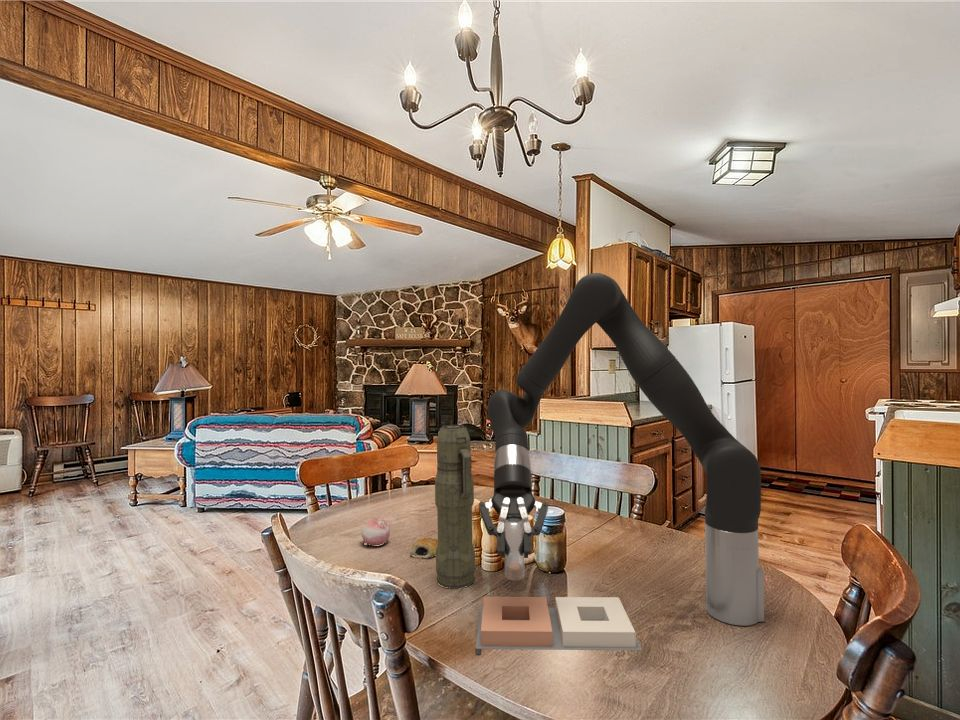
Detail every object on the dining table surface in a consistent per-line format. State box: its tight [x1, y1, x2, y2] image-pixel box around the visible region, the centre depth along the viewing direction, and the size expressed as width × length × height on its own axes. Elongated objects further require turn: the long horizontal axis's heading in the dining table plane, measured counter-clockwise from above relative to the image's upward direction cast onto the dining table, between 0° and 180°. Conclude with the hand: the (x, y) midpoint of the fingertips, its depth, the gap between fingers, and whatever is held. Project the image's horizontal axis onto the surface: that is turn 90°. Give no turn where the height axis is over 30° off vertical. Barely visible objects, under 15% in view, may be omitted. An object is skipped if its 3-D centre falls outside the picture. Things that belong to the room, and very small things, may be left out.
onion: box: [361, 517, 391, 546], centre depth 135 cm, size 8×8×7 cm
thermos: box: [434, 424, 476, 589], centre depth 112 cm, size 9×12×35 cm
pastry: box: [409, 537, 438, 559], centre depth 129 cm, size 9×7×4 cm
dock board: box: [475, 596, 643, 655], centre depth 90 cm, size 28×14×4 cm, turn 87°
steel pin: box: [504, 518, 525, 581], centre depth 91 cm, size 4×4×10 cm
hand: (514, 555), depth 89 cm, fingers closed on steel pin, 3 cm apart
